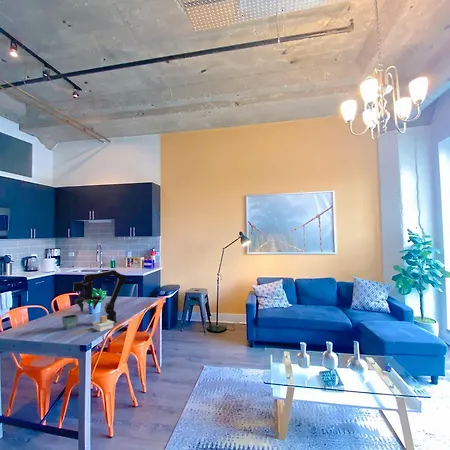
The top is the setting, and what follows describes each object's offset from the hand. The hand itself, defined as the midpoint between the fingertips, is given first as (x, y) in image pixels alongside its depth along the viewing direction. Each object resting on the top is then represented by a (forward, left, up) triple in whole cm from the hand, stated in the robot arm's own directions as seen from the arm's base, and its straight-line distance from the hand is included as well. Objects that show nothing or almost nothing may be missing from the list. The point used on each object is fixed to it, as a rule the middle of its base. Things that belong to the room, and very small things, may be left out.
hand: (88, 310), depth 211 cm
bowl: (-4, +15, -12) cm, 20 cm away
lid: (-4, +15, -8) cm, 17 cm away
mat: (+9, +8, -12) cm, 17 cm away
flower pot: (+10, -7, -12) cm, 17 cm away
